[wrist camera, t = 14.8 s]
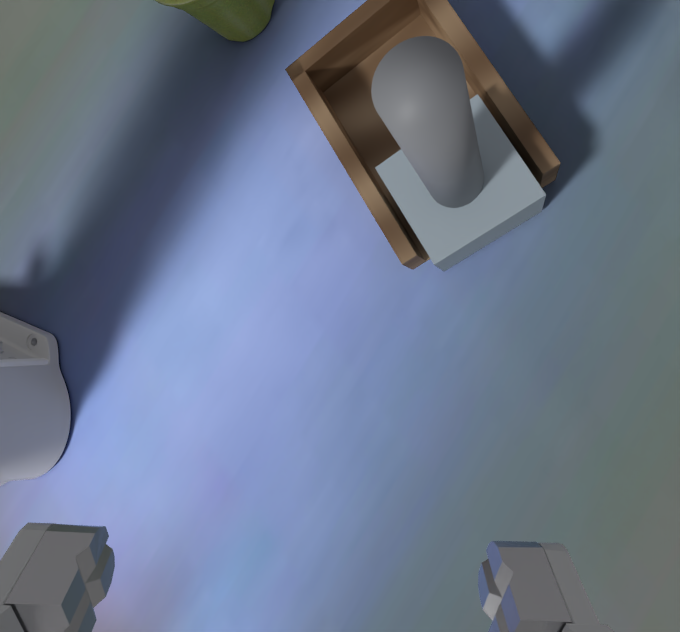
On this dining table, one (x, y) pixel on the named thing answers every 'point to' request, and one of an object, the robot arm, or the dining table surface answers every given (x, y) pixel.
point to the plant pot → (228, 15)
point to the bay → (365, 123)
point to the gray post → (448, 154)
